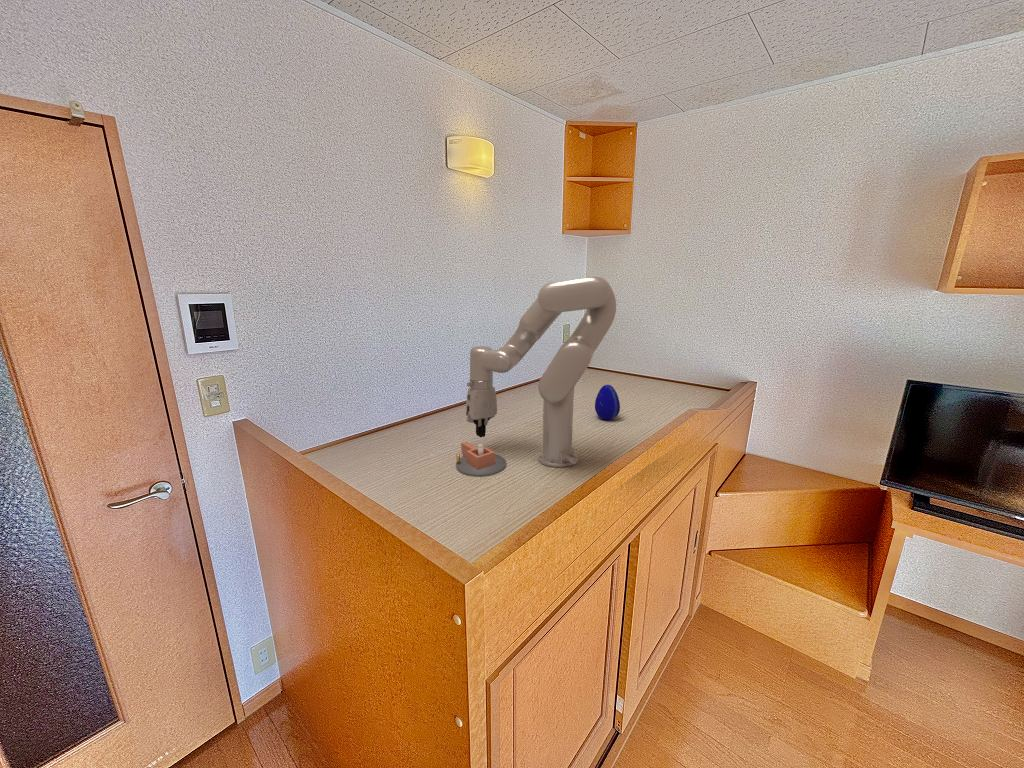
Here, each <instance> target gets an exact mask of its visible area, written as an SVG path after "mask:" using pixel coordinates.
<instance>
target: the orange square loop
mask: <svg viewBox="0 0 1024 768" xmlns="http://www.w3.org/2000/svg"><path fill="white" fill-rule="evenodd" d="M460 448H461V451H460V452H461V455H462V456H466V460H467V463H468V464H470V465H471V466H473V467H474V468H476V469H477V470H479V469H482V468H485V467H488V466H491V465H494V464H495V454H496V451H494V450H491V449H490V448H488V447H486V446H484V445H483V449H484V454H483V455H480V456H478V446H475V445H473V444H471V443H470V442H468V441H463V442H460Z"/></svg>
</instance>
